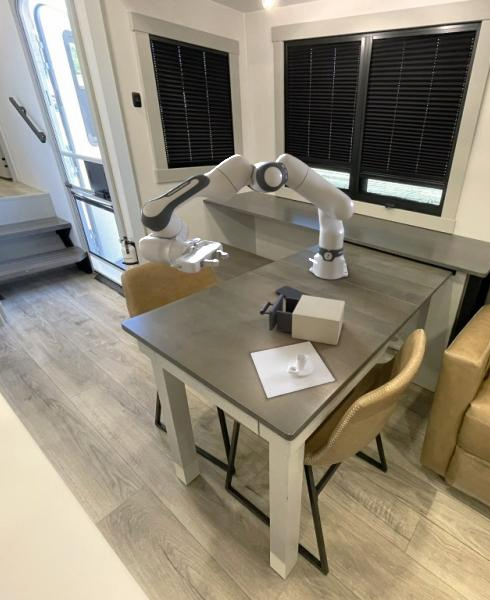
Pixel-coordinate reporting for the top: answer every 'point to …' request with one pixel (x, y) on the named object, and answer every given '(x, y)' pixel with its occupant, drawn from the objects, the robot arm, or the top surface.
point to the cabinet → (318, 319)
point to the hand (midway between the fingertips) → (223, 259)
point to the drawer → (280, 313)
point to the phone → (290, 292)
